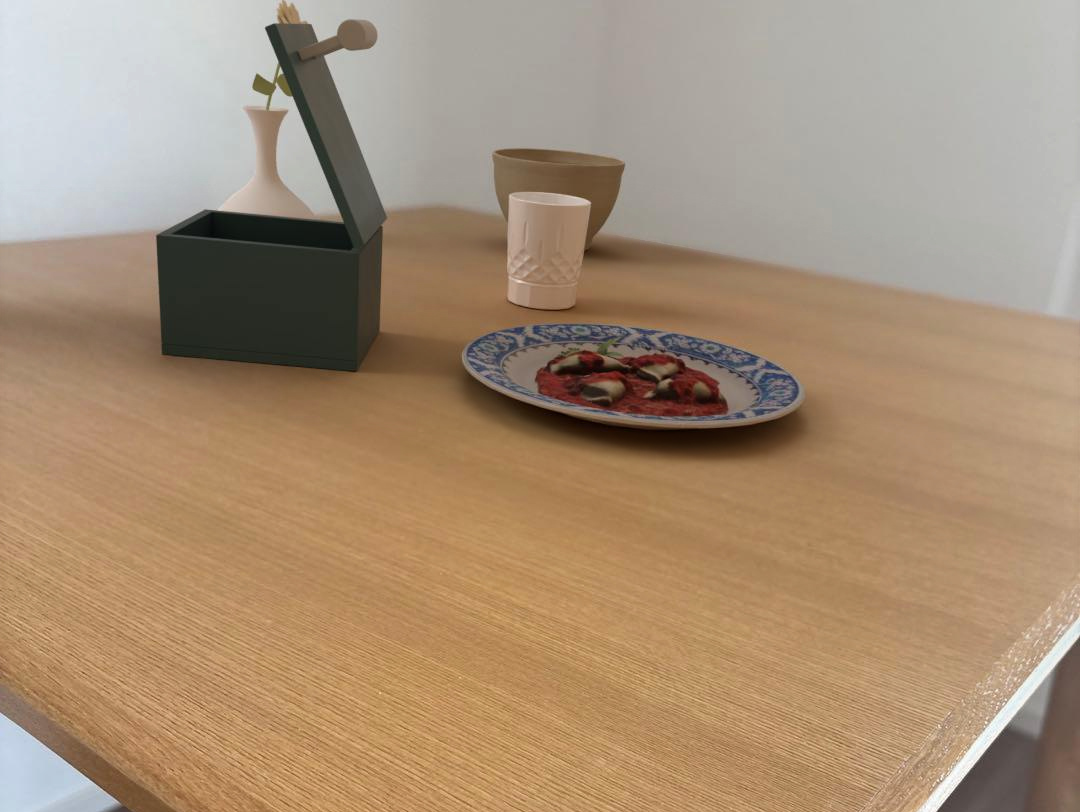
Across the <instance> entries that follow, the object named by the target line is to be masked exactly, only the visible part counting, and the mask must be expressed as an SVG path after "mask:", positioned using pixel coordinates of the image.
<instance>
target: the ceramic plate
mask: <svg viewBox="0 0 1080 812" xmlns="http://www.w3.org/2000/svg"><path fill="white" fill-rule="evenodd" d="M461 360H462V364H463V366H464V369H465V370H467V372H468V373H469V374H470V375H471V376H472V377H473V378H475V379H476V380H477V381H479V382H481V383H482V384H483V385H485V386H487V387H488V388H490V389H492V390H494V391H496V392H498V393H500V394H503V395H505V396H508V397H510V398H511V399H515V400H518V401H520V402H523V403H526V404H530V405H533V406H535V407H538V408H542V409H545V410H550V411H554V412H557V413H560V414H563V415H565V416H569V417H570V418H571V417H572V418H575V419H580V420H583V421H588V422H592V423H593V422H594V423H597V424H601V425H602V424H603V425H607V426H613V427H621V428H631V429H639V430H640V429H641V430H647V431H648V430H650V431H658V430H659V431H660V430H662V431H663V430H664V431H665V430H666V431H669V430H671V431H672V430H675V431H677V430H691V429H692V430H693V429H716V428H717V429H718V428H731V427H733V428H734V427H743V426H750V425H756V424H759V423H764V422H768V421H772V420H777V419H780V418H782V417H785V416H787V415H789V414H791V413H792V412H794V411H796V410H797V409H798V408H799V407H801V406H802V404H803V403H804V401H805V398H806V394H807V393H806V388H805V386H804V384H803V383H802V381H801V380H800V379H799V378H798V377H797V376H796V375H795V374H794V373H792V371H790V370H788V368H786V367H784V366H782V365H781V364H779V363H776V362H774V361H772V360H771V359H769V358H766V357H764V356H762V355H759V354H757V353H754V352H751V351H748V350H746V349H743V348H740V347H736V346H733V345H731V344H727V343H724V342H720V341H715V340H712V339H706V338H702V337H698V336H693V335H689V334H685V333H679V332H674V331H666V330H660V329H655V328H654V329H653V328H646V327H638V326H629V325H620V324H604V323H541V324H540V323H539V324H530V325H529V324H528V325H522V326H515V327H506V328H503V329H498V330H495V331H492V332H489V333H486V334H484V335H480V336H478V337H476V338H474V339H473V340H471V341H470V342H468V343H467V344H466V345H465V346H464V348H463V350H462V352H461Z"/></svg>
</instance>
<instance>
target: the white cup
mask: <svg viewBox="0 0 1080 812" xmlns="http://www.w3.org/2000/svg"><path fill="white" fill-rule="evenodd" d="M590 207H591V202H590V201H588V200H586V199H583V198H579V197H574V196H569V195H562V194H554V193H543V192H516V193H512V194H510V195H509V213H508V223H507V241H506V242H507V252H506V253H507V255H506V257H507V260H506V261H507V262H506V263H507V264H506V271H507V274H508V275H507V294H506V295H507V299H508V301H509V302H510V303H512V304H514V305H516V306H520V307H524V308H525V307H526V308H529V309H535V310H543V311H544V310H548V311H549V310H550V311H553V310H554V311H555V310H558V311H559V310H567V309H570V308H572V307H574V306H575V305H576V300H577V293H578V284H579V282H578V281H579V278H580V276H581V272H582V265H583V260H584V255H585V251H584V248H585V242H586V235H587V228H588V221H589V214H590Z"/></svg>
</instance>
